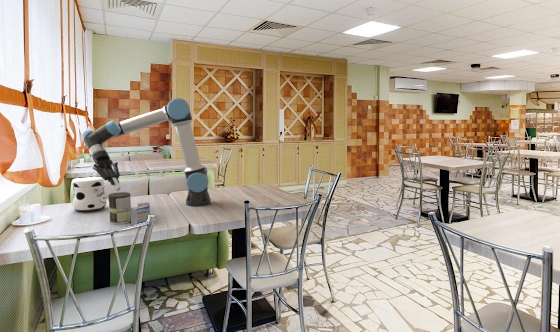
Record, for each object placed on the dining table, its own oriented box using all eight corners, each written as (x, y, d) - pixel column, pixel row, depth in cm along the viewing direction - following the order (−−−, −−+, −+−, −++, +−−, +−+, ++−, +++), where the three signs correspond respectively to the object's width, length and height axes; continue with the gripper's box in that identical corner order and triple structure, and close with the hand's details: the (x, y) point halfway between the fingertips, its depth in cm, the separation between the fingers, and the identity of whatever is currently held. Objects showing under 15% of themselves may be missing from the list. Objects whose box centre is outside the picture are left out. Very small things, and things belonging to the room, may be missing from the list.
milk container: (111, 209, 201) (109, 179, 199) (79, 215, 189) (76, 182, 187) (100, 204, 213) (98, 175, 211) (69, 209, 200) (66, 179, 198)
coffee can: (106, 224, 171) (104, 196, 170) (114, 218, 182) (112, 192, 180) (127, 223, 172) (126, 196, 171) (134, 218, 183) (133, 192, 181)
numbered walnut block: (150, 215, 189) (149, 202, 188) (150, 217, 184) (149, 204, 183) (138, 216, 187) (137, 203, 186) (138, 218, 181) (137, 205, 181)
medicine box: (136, 226, 168) (136, 209, 167) (131, 225, 170) (130, 207, 169) (150, 222, 175) (149, 205, 174) (145, 221, 177) (144, 204, 176)
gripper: (109, 158, 190) (127, 191, 182) (84, 160, 179) (103, 195, 172) (113, 149, 186) (133, 182, 179) (89, 150, 176) (108, 186, 168)
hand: (118, 189), depth 175 cm, fingers closed
